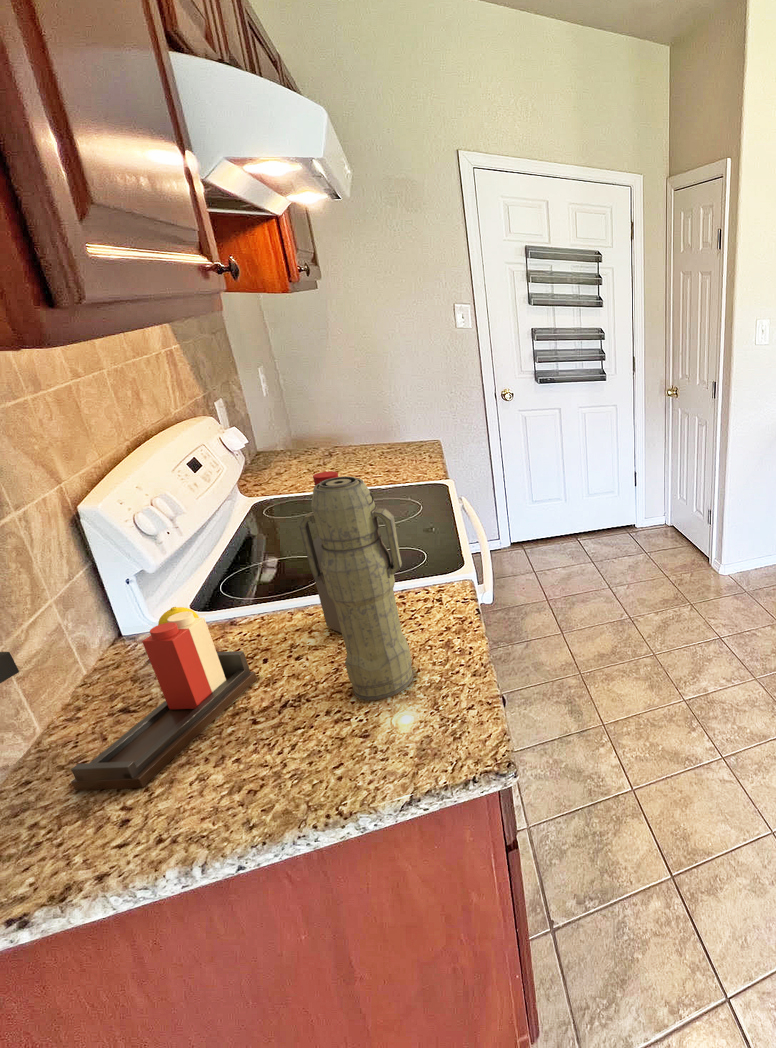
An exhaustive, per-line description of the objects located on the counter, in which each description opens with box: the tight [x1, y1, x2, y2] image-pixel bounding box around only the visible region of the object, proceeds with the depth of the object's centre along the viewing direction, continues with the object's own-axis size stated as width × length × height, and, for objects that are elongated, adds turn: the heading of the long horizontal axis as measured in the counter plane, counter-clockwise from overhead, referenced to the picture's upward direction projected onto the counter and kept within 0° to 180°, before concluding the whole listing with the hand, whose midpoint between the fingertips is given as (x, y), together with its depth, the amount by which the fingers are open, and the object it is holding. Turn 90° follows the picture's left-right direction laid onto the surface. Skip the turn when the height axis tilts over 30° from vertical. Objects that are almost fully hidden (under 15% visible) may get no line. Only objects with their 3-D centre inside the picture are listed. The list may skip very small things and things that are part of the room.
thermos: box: [298, 476, 414, 701], centre depth 87 cm, size 9×12×35 cm
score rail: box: [70, 650, 258, 791], centre depth 82 cm, size 8×22×6 cm, turn 5°
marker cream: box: [167, 612, 226, 693], centre depth 86 cm, size 4×3×13 cm
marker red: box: [141, 622, 212, 710], centre depth 83 cm, size 4×3×13 cm
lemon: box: [157, 606, 200, 626], centre depth 100 cm, size 6×6×8 cm
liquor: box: [312, 470, 342, 634], centre depth 105 cm, size 9×9×30 cm
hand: (6, 662), depth 63 cm, fingers closed
